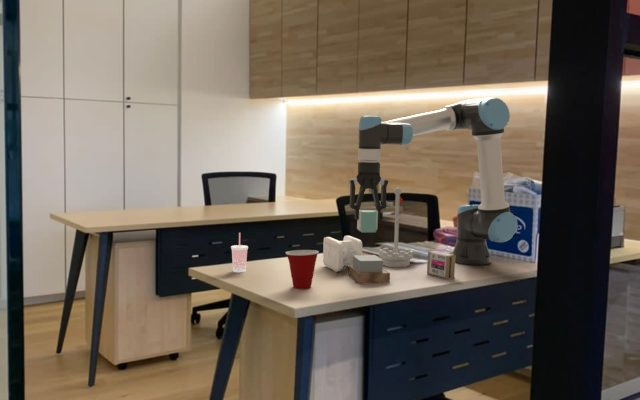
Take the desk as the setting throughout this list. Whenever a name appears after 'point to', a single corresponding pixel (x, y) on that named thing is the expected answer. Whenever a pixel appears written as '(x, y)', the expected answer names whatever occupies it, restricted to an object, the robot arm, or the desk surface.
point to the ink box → (441, 264)
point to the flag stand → (396, 243)
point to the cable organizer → (340, 252)
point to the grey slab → (367, 263)
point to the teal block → (368, 221)
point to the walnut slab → (369, 276)
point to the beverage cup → (239, 257)
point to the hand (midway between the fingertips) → (367, 229)
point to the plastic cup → (302, 267)
